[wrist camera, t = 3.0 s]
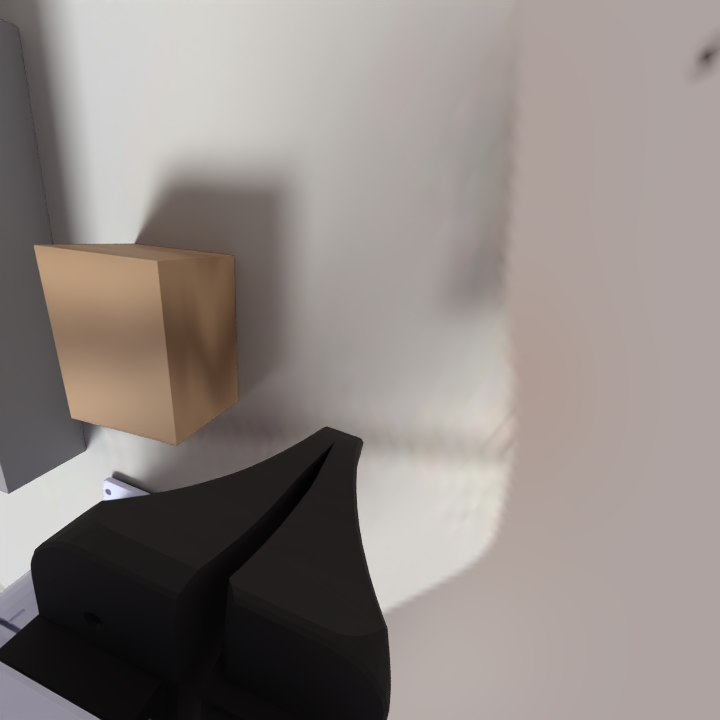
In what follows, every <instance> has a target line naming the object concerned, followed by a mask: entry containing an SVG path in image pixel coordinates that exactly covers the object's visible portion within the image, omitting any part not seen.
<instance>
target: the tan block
mask: <svg viewBox="0 0 720 720" xmlns="http://www.w3.org/2000/svg"><path fill="white" fill-rule="evenodd" d="M34 250H35V254H36V259H37V263H38V268H39V272H40V277H41V282H42V286H43V291H44V295H45V300H46V304H47V309H48V313H49V318H50V323H51V327H52V332H53V336H54V341H55V345H56V350H57V354H58V359H59V364H60V368H61V373H62V377H63V382H64V386H65V391H66V395H67V400H68V405H69V409H70V414H71V418H73V419H77V420H81V421H85V422H89V423H92V424H96V425H100V426H104V427H108V428H111V429H115V430H119V431H123V432H127V433H130V434H134V435H138V436H142V437H146V438H149V439H153V440H157V441H161V442H165V443H169V444H172V445H176V446H177V445H178V444H180V443H181V442H182V441H184V440H185V439H187V438H188V437H189V436H191V435H192V434H193V433H195V432H196V431H198V430H199V429H200V428H202V427H203V426H204V425H206V424H207V423H209V422H210V421H211V420H213V419H214V418H216V417H217V416H218V415H220V414H221V413H222V412H224V411H225V410H227V409H228V408H229V407H231V406H232V405H233V404H235V403H236V402H238V401H239V391H238V361H237V331H236V301H235V271H234V256H233V255H225V254H217V253H208V252H200V251H191V250H183V249H175V248H166V247H158V246H150V245H141V244H65V245H34Z"/></svg>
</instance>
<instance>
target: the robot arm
mask: <svg viewBox="0 0 720 720" xmlns="http://www.w3.org/2000/svg"><path fill="white" fill-rule="evenodd" d="M362 446H363V441H362V439H361V438H358V437H356V436H353V435H350V434H347V433H344V432H341V431H339V430H336V429H333V428H330V427H324V428H322V429H321V430H319V431H317V432H316V433H314V434H313V435H311V436H309V437H308V438H306V439H304V440H303V441H301V442H299V443H297V444H296V445H294V446H292V447H290V448H288V449H287V450H285V451H283V452H281V453H279V454H277V455H275V456H273V457H271V458H269V459H267V460H265V461H263V462H261V463H258V464H256V465H254V466H251V467H249V468H247V469H244V470H241V471H239V472H236V473H233V474H230V475H227V476H224V477H221V478H217V479H214V480H210V481H207V482H204V483H200V484H197V485H193V486H189V487H184V488H180V489H175V490H170V491H165V492H160V493H155V494H149V493H147V492H145V491H142V490H140V489H138V488H135V487H133V486H130V485H128V484H126V483H123V482H121V481H119V480H116V479H114V478H111V477H109V478H107V479H106V480H104V481H103V495H104V501H101V502H99V503H98V504H96V505H95V506H93V507H92V508H90V509H89V510H87V511H86V512H85V513H83V514H82V515H80V516H79V517H78V518H76V519H75V520H73V521H72V522H71V523H69V524H68V525H67V526H65V527H64V528H63V529H61V530H60V531H58V532H57V533H56V534H54V535H53V536H52V537H50V538H49V539H47V540H46V541H45V542H43V543H42V544H41V545H40V546H39V547H37V548H36V549H35V551H34V554H33V557H32V560H31V570H29V571H28V572H27V573H26V574H24V575H23V576H22V577H20V578H19V579H18V580H16V581H15V582H14V583H12V584H11V585H10V586H9V587H7V588H6V589H5V590H3V591H2V592H1V593H0V720H387V717H388V713H389V706H390V692H391V691H390V690H391V671H390V653H389V642H388V629H387V626H386V623H385V621H384V618H383V615H382V612H381V609H380V606H379V603H378V600H377V597H376V595H375V591H374V588H373V584H372V581H371V578H370V574H369V570H368V566H367V562H366V558H365V553H364V549H363V545H362V539H361V533H360V527H359V519H358V510H357V494H356V478H357V465H358V461H359V457H360V454H361V450H362Z"/></svg>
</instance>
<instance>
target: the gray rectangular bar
mask: <svg viewBox="0 0 720 720" xmlns="http://www.w3.org/2000/svg"><path fill="white" fill-rule="evenodd" d="M34 245H53V241H52V235H51V229H50V223H49V216H48V210H47V204H46V198H45V192H44V185H43V179H42V173H41V167H40V161H39V154H38V148H37V142H36V136H35V130H34V123H33V117H32V111H31V105H30V99H29V92H28V86H27V80H26V74H25V67H24V61H23V55H22V49H21V43H20V36H19V30H18V27H16V26H14V25H12V24H10V23H8V22H6V21H4V20H2V19H0V491H3V492H5V493H8V494H9V493H11V492H13V491H14V490H16V489H18V488H20V487H22V486H23V485H25V484H27V483H29V482H31V481H32V480H34V479H36V478H38V477H39V476H41V475H43V474H45V473H47V472H48V471H50V470H52V469H54V468H56V467H57V466H59V465H61V464H63V463H64V462H66V461H68V460H70V459H72V458H73V457H75V456H77V455H79V454H80V453H82V452H84V451H86V446H85V440H84V434H83V428H82V421H81V420H77V419H73V418H71V414H70V409H69V405H68V400H67V395H66V391H65V386H64V382H63V377H62V373H61V368H60V364H59V359H58V354H57V350H56V345H55V341H54V336H53V332H52V327H51V323H50V318H49V313H48V309H47V304H46V300H45V295H44V291H43V286H42V282H41V277H40V272H39V268H38V263H37V259H36V254H35V250H34Z"/></svg>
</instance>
